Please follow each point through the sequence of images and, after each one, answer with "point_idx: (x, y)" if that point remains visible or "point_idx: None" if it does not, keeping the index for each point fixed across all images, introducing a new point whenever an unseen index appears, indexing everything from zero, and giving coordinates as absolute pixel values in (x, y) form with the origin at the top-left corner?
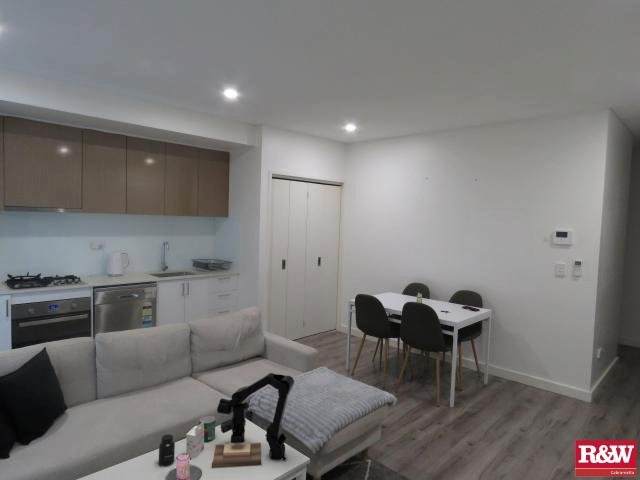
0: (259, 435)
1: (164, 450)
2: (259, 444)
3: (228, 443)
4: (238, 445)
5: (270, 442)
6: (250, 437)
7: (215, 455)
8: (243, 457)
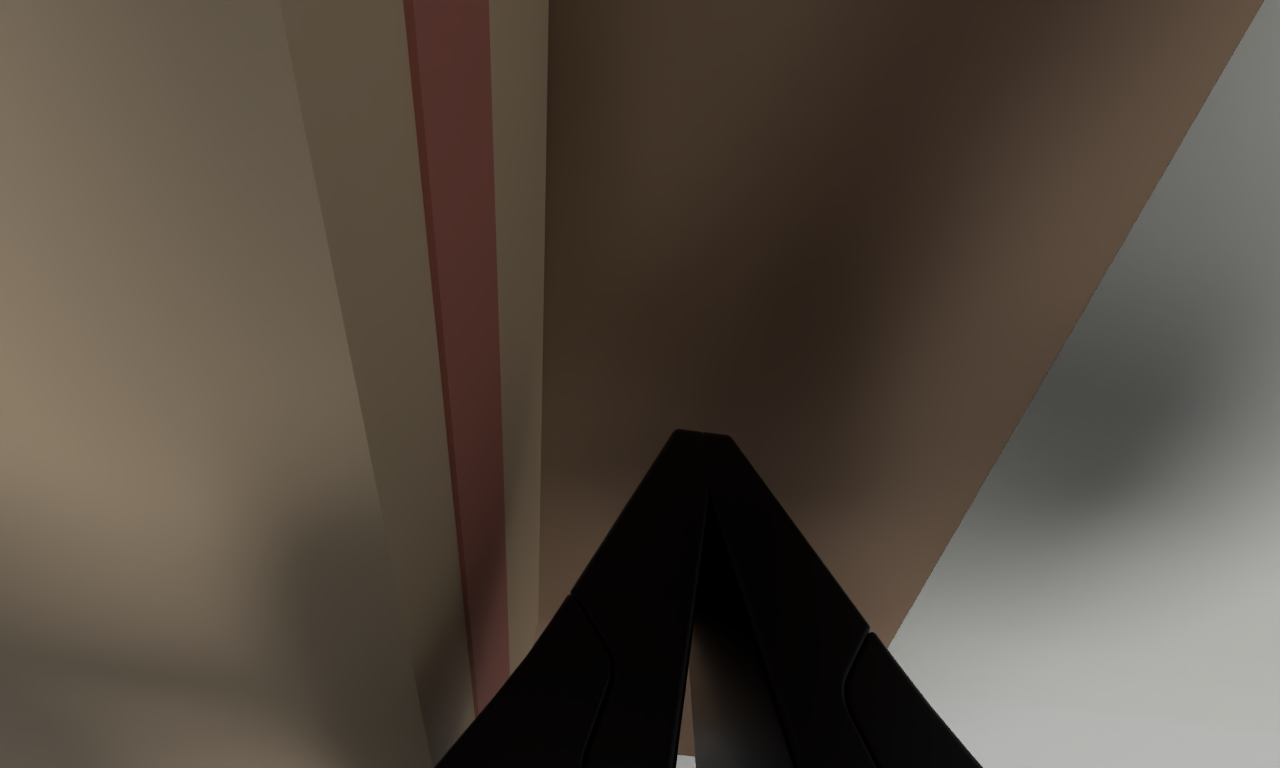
0: (1141, 754)
1: None
2: None
3: (35, 201)
4: (47, 709)
5: None
6: (1190, 650)
7: None
8: None
